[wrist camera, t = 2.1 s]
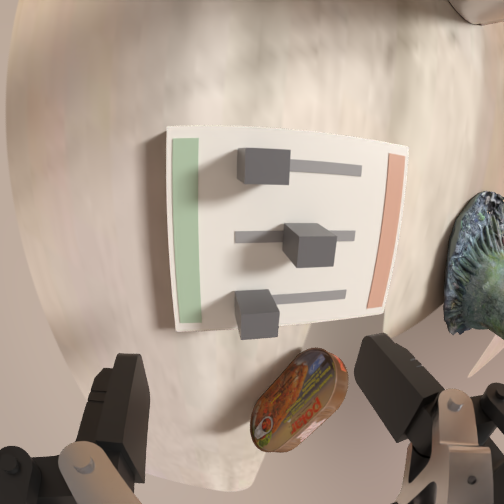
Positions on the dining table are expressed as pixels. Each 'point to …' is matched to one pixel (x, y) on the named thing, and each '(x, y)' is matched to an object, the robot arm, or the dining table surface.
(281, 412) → the tin
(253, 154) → the block
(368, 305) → the board
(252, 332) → the block
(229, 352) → the dining table surface
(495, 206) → the green bell-shaped piece
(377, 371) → the robot arm
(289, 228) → the block
